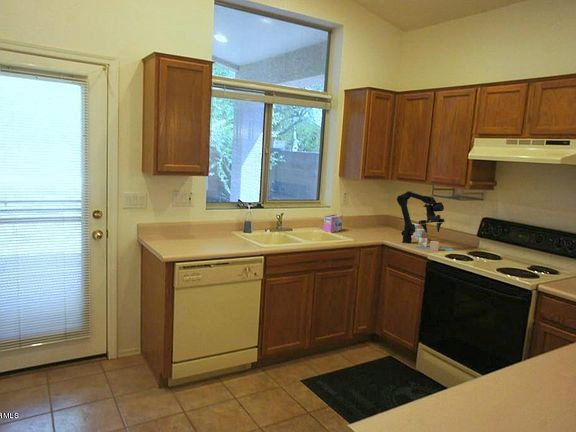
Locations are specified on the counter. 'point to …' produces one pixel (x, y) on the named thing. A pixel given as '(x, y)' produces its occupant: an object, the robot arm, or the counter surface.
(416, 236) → the stack of blocks
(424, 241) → the maple block
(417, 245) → the card
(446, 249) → the teal pad
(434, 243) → the terracotta block
